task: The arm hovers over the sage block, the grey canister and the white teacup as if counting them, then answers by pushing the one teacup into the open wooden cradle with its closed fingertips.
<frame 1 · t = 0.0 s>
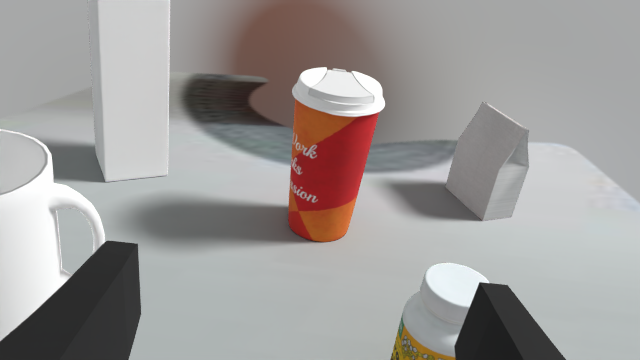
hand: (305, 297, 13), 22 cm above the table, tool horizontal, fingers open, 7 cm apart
milk: (131, 166, 60), on the table
paper cup: (317, 226, 55), on the table
mug: (11, 314, 40), on the table
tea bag: (476, 203, 63), on the table
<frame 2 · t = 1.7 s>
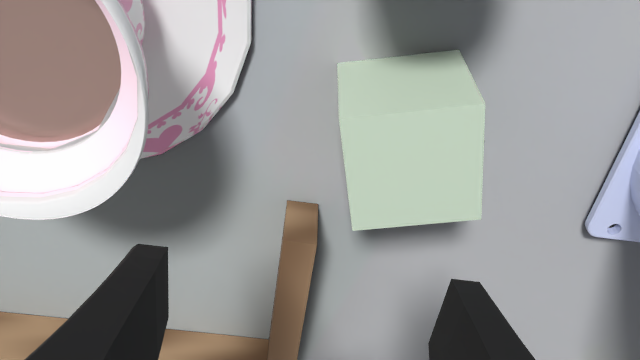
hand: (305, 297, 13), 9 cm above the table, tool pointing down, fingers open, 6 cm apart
wooden cradle: (98, 267, 25), on the table
sage block: (400, 109, 21), on the table
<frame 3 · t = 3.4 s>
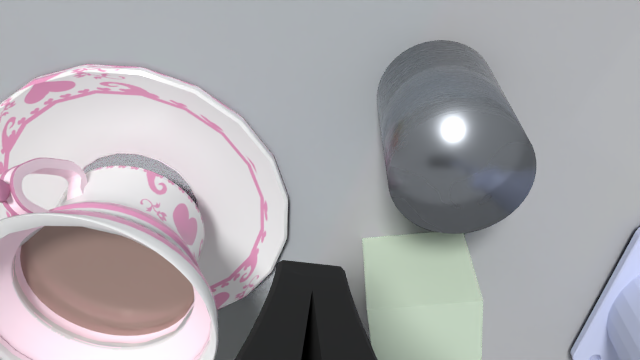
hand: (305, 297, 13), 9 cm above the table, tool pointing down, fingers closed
teacup: (139, 200, 23), on the table
grey canister: (435, 96, 20), on the table
sage block: (413, 269, 25), on the table
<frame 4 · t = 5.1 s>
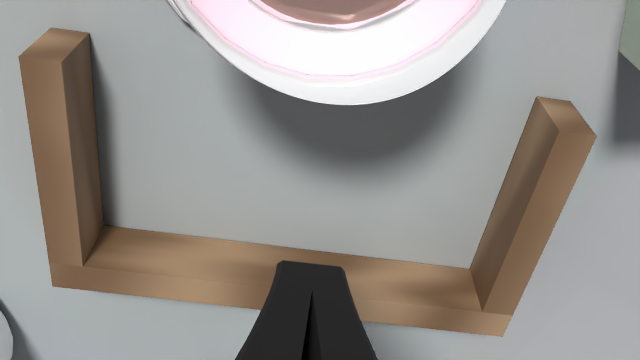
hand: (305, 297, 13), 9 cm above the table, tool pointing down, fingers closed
wooden cradle: (301, 179, 22), on the table
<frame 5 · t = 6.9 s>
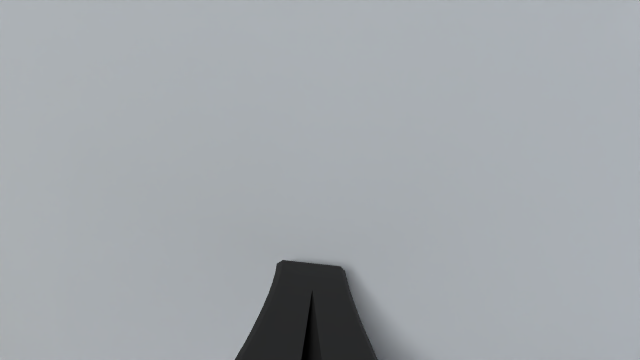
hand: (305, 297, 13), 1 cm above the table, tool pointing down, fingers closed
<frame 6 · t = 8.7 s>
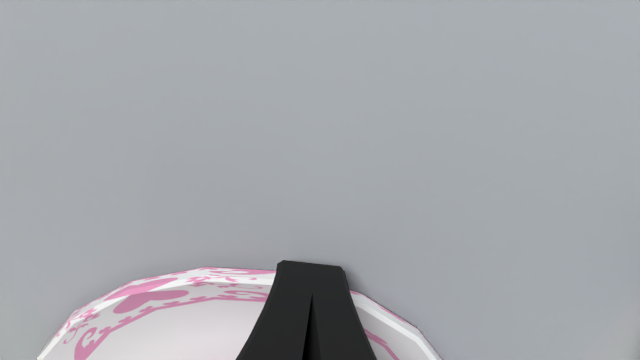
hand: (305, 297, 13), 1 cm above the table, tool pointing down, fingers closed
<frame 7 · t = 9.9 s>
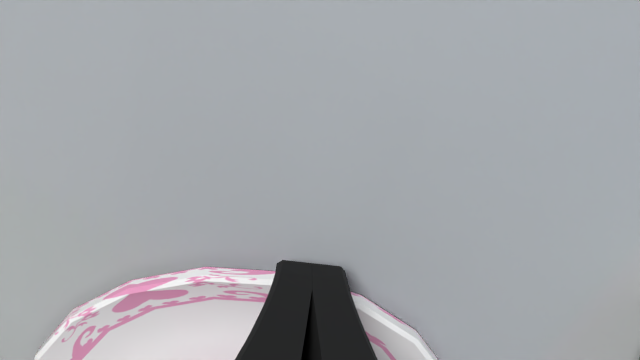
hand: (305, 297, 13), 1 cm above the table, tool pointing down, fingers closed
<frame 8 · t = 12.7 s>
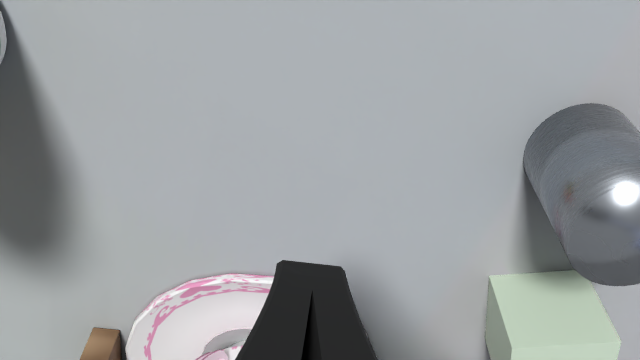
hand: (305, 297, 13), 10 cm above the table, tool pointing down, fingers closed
teacup: (252, 356, 29), on the table
grey canister: (578, 151, 22), on the table
sage block: (531, 304, 27), on the table
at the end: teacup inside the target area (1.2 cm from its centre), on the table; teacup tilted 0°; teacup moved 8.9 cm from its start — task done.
